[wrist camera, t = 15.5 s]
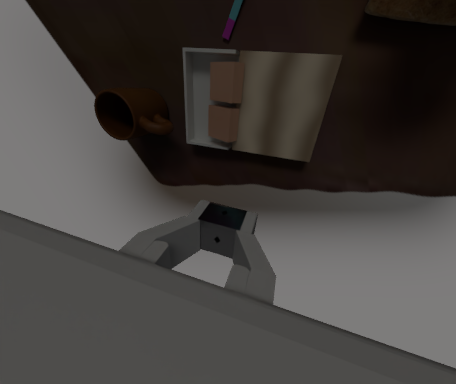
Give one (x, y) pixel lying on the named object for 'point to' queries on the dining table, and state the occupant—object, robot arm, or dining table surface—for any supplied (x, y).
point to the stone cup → (415, 10)
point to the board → (283, 102)
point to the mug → (132, 112)
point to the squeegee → (232, 18)
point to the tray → (202, 93)
